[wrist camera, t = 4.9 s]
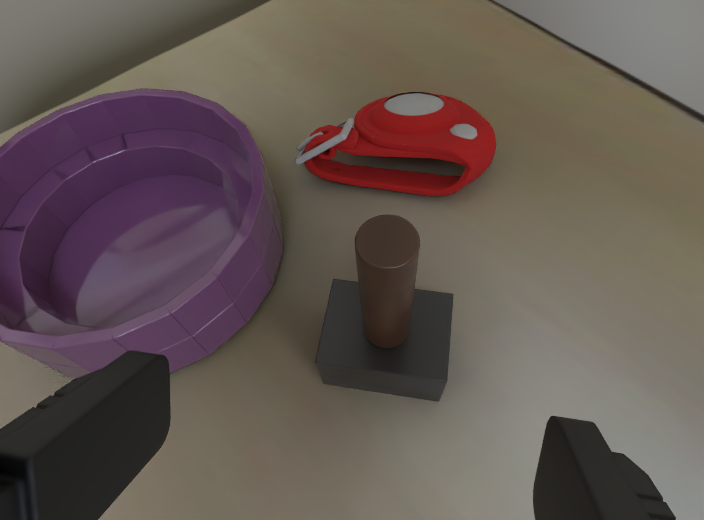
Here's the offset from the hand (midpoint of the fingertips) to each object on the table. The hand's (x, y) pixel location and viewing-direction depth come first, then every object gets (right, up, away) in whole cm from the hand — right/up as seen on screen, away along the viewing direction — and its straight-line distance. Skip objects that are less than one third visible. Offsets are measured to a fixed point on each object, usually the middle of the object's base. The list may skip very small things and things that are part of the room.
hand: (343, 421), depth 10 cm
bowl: (-12, +4, +19) cm, 23 cm away
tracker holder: (+3, +11, +23) cm, 25 cm away
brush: (+2, -2, +15) cm, 16 cm away
